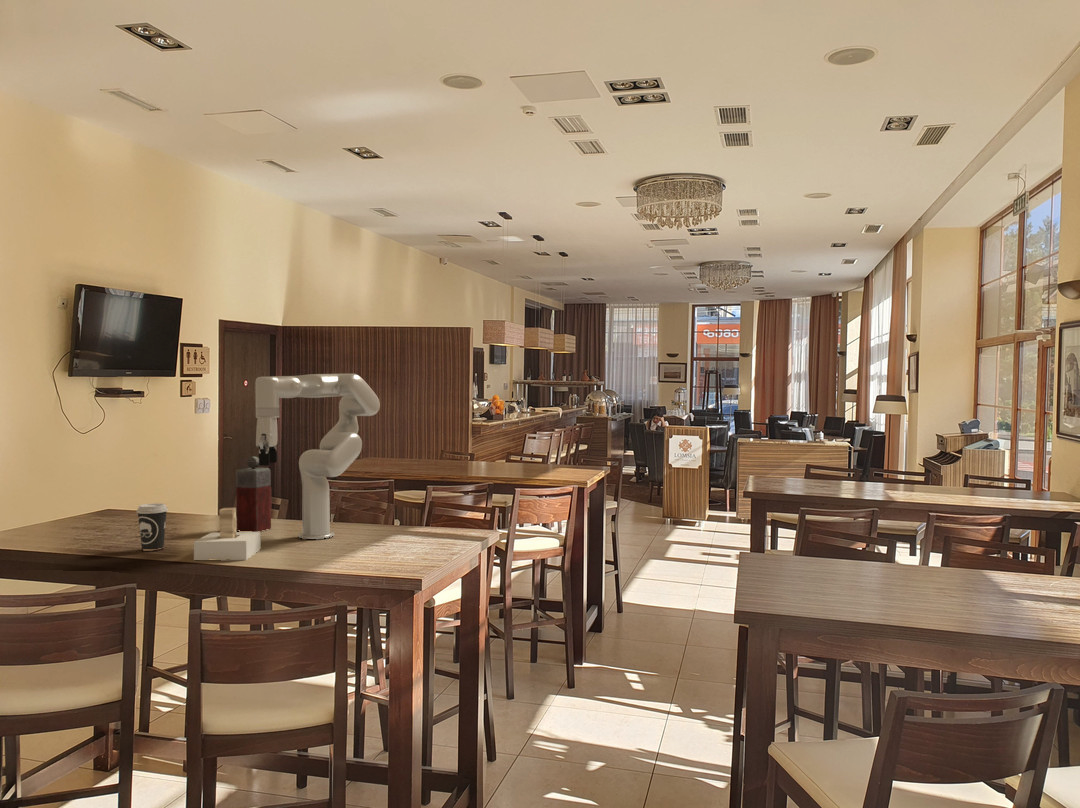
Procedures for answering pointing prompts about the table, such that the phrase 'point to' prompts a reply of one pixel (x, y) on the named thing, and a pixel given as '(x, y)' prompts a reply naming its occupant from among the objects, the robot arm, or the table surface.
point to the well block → (227, 546)
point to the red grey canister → (253, 497)
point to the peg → (228, 523)
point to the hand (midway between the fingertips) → (268, 464)
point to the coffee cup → (152, 525)
